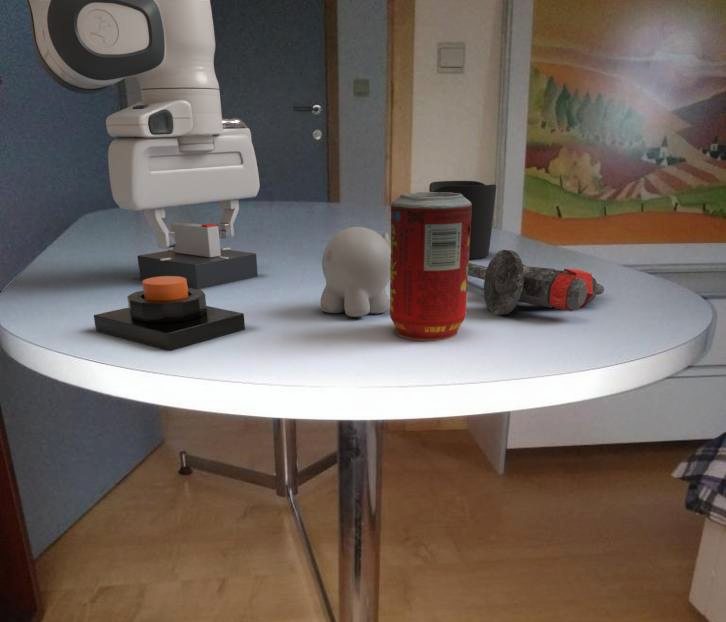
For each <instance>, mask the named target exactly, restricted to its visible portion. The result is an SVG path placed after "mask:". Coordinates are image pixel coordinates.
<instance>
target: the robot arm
mask: <svg viewBox="0 0 726 622" xmlns="http://www.w3.org/2000/svg"><path fill="white" fill-rule="evenodd" d="M26 2H27V7H28V13H29V21H30V22H29V23H30V33H31V34H30V35H31V40H32V45H33V50H34V53H35V55H36V57H37V60H38V62H39V64H40V65H41V67H42V68H43V70H44V71H45V72H46V74H47V75H48V76H49V77H50V78H51V79H52V80H53V81H54V82H56V84H58V85H60V86H61V87H62V88H65V89H67V90H68V91H71V92H73V93H76V94H81V95H93V94H99V93H101V92H104V91H106V90H108V89H109V88H110V87H112V86H113V85H114V84H117V83H118V82H121V81H123V80H124V79H127V78H131V79H136V81H137V82H138V83H139V88H140V95H141V101H138V102H136V103H134V104H132V105H130V106H128V107H125V108H123V109H121V110H119V111H117V112H113V113H112V114H110V115H108V116H107V117H106V120H105V127H106V131H107V134H108V135H109V136H110V137H111V138H114V139H113V140H112V141H111V143H110V144H109V146H108V152H107V162H108V163H107V164H108V174H109V175H108V176H109V182H110V189H111V194H112V195H111V196H112V199H113V201H114V202H115V203H116V204H117V206H118V207H119V208H120V209H121V210H124V211H134V212H135V211H136V212H137V211H143V214H144V219H145V221H146V222H147V223H148V225H149V226H150V227H151V229H152V230H153V233H155V239H156V245H157V247H158V248H159V249H164V250H165V249H172V248H173V247H175V246H176V241H175V232H171V231H169V229H168V228H167V226H166V224H165V222H164V220H163V219H164V218H166V208H173V207H180V206H190V205H199V204H208V203H217V202H218V204H219V208H220V209H222V213H221V217H220V220H219V222H217V223H215V224H216V226H218V229H219V239H225V240H226V239H231V238H234V236H235V230H234V223H235V221H236V218H237V215H238V213H239V210H240V204H239V203H240V201H239V200H242V199H251V198H256V197H257V196H258V193H259V191H260V187H261V186H260V185H261V184H260V174H259V168H258V162H257V157H256V152H255V148H254V145H253V142H252V141H253V140H252V132H251V129H250V128H249V127H248V125H246V123H245V122H243V121H242V119H240V118H237V117H233V118H224V117H223V114H222V113H223V112H222V104H221V103H222V101H221V93H220V92H221V91H220V84H219V80H218V77H217V76H216V71H215V52H216V37H215V27H214V18H213V12H212V5H211V0H26Z"/></svg>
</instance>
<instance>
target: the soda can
mask: <svg viewBox="0 0 726 622" xmlns="http://www.w3.org/2000/svg"><path fill="white" fill-rule="evenodd" d="M471 215H472V204H471V202H470V201H469V200H467V199H466V198H465V197H464V196H463V195H462V194H460V193H447V192H440V193H439V192H429V191H419V192H414V193H411V192H407V193H406V192H405V193H402V194H400V195H399V196H398V197H397V198H395V199H394V200H393V201H392V203H391V205H390V239H391V259H390V280H389V316H390V319H391V321H392V323H393V324H394V327H395V329H396V334H397V336H399V337H401V338H403V339H408V340H413V341H420V342H421V341H422V342H434V341H435V342H436V341H437V342H438V341H444V340H445V341H446V340H450V339H453V338H455V337H457V335H458V332H459V329H460V328H461V326H462V324H463V323H464V321H465V319H466V315H467V298H468V297H467V296H468V284H469V283H468V281H469V276H468V267H469V263H470V260H469V250H470V232H471Z"/></svg>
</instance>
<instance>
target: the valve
mask: <svg viewBox="0 0 726 622" xmlns="http://www.w3.org/2000/svg"><path fill="white" fill-rule="evenodd" d="M468 277H471V278H475V279H480V280H483V296H484V297H483V298H484V301H485V304H486V305H485V306H486V307H487V309H488V311H489V312H490V313H492V314H494V315H496V316H507V315H508V314H510V313H512V312H513V310H515V308H516V307H517V305H518V303H521V304H522V303H523V304H531V305H535V306H541V307H546V308H549V309H552V308H554V309H556V310H561V311H566V312H573V311H576V310H578V309H583V308H584V307H585V306H586V305H587V304H589V303H591V302H592V301H594V299H595V298H596V297H597V295H603V294H604V292H605V288H604V286H603V285H602V284H600V283H598V282H597V280H596V278H595V277H593V274H592V273H590V272H587V271H585V270H580V269H576V268H575V269H574V268H564V269H563V270H559V269H555V268H548V267H538V266H527V265H525V264H524V263H523V262H522V260H521V257H520V255H519V254H518V253H517V252H516V251H514V250H511V249H501V250H499V251H498V252H496V253H495V254H494V255H493V257H492V258H491V259H490V261H489V263H488V265H487V266H484V265H481V264H476V263H472V262H469V267H468Z"/></svg>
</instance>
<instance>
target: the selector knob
mask: <svg viewBox="0 0 726 622" xmlns="http://www.w3.org/2000/svg"><path fill="white" fill-rule="evenodd" d="M169 224H170V232H175V241H176V246H175V247H172V249H173V251H174V252H175V253H182V254H189V255H196V256H202V257H209V258H211V257H217V256H221V251H220V249H221V242H220V241H221V239H220V238H219V229H218V226H216V223H205V224H204V223H203V224H201V223H194V222H193V223H192V222H183V221H179V222H171V223H169Z"/></svg>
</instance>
